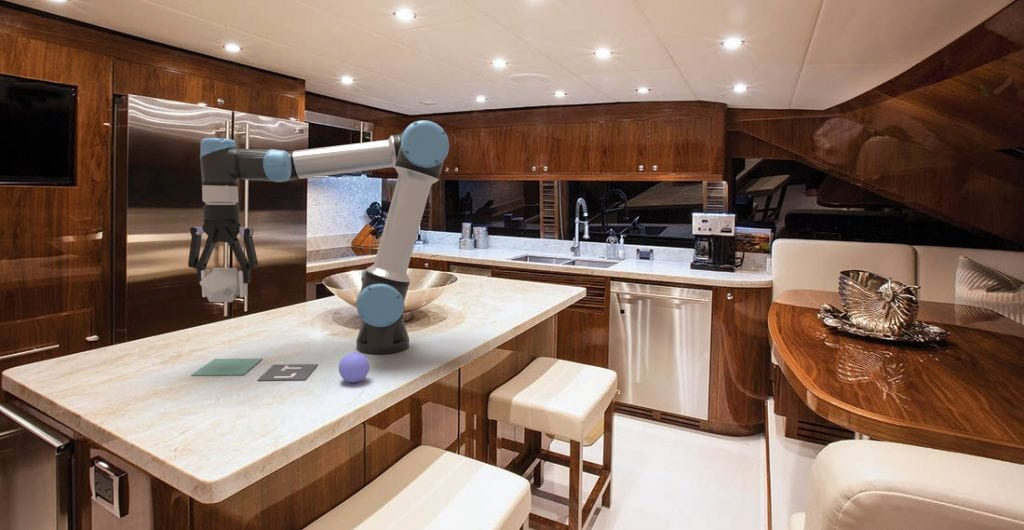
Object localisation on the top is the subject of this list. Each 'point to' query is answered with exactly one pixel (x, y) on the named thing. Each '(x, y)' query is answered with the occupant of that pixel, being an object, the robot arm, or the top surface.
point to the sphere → (354, 367)
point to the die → (221, 285)
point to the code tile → (288, 372)
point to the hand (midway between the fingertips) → (225, 295)
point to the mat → (227, 367)
